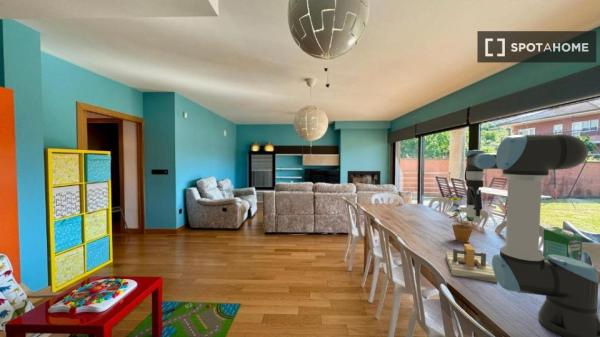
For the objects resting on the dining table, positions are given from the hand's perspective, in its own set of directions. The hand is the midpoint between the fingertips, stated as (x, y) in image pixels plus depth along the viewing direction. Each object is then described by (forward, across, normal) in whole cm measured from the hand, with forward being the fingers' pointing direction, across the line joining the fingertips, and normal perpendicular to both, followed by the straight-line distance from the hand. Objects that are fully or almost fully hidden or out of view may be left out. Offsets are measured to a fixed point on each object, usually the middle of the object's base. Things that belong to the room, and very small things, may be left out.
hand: (473, 219), depth 133 cm
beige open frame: (+25, -4, +2) cm, 26 cm away
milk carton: (+25, -7, -32) cm, 42 cm away
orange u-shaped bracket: (+23, -4, +3) cm, 23 cm away
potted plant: (+26, +49, -4) cm, 55 cm away
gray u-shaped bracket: (+25, -4, +2) cm, 26 cm away
